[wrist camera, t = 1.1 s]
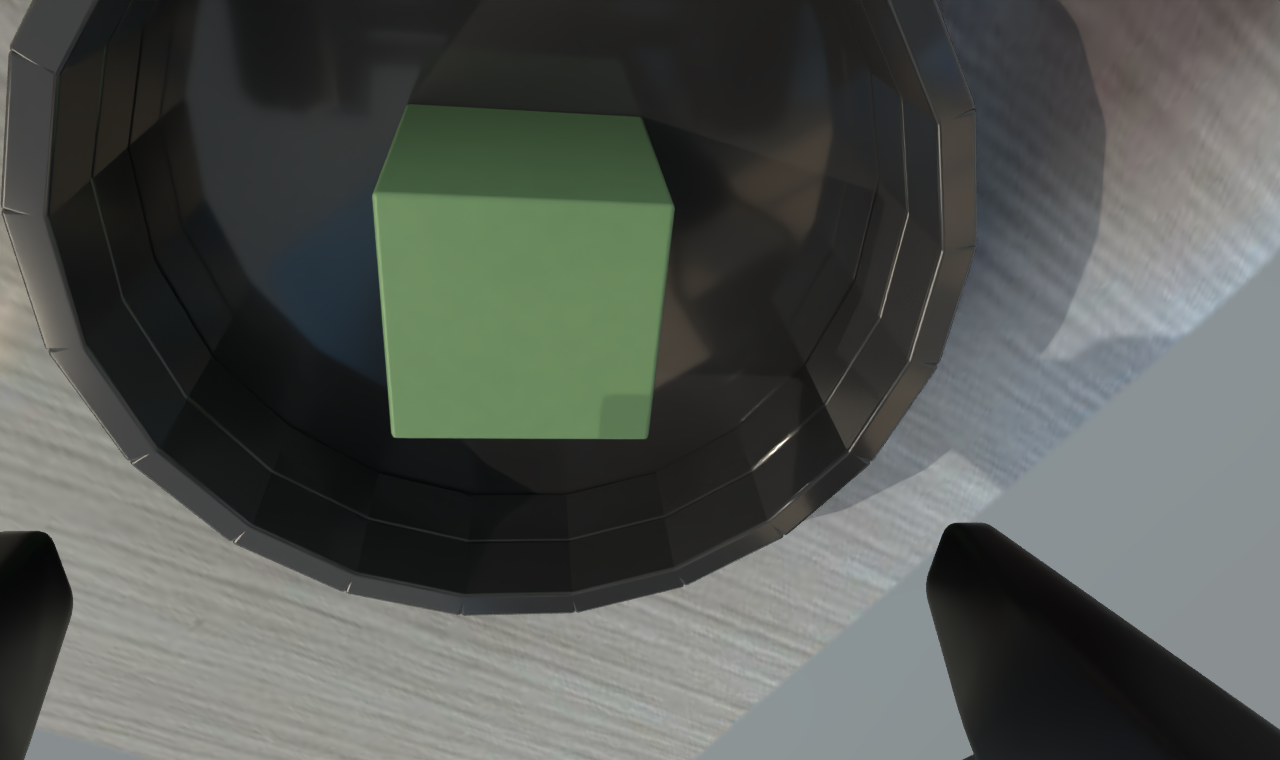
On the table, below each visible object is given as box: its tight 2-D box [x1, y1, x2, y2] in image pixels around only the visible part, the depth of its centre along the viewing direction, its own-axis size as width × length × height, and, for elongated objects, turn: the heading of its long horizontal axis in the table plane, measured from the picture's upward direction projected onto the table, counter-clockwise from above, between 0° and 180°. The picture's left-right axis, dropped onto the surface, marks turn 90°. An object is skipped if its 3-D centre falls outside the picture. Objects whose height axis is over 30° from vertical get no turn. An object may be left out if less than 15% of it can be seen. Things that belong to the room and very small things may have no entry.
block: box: [372, 104, 675, 439], centre depth 14 cm, size 4×4×4 cm
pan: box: [1, 0, 977, 616], centre depth 15 cm, size 14×14×4 cm
